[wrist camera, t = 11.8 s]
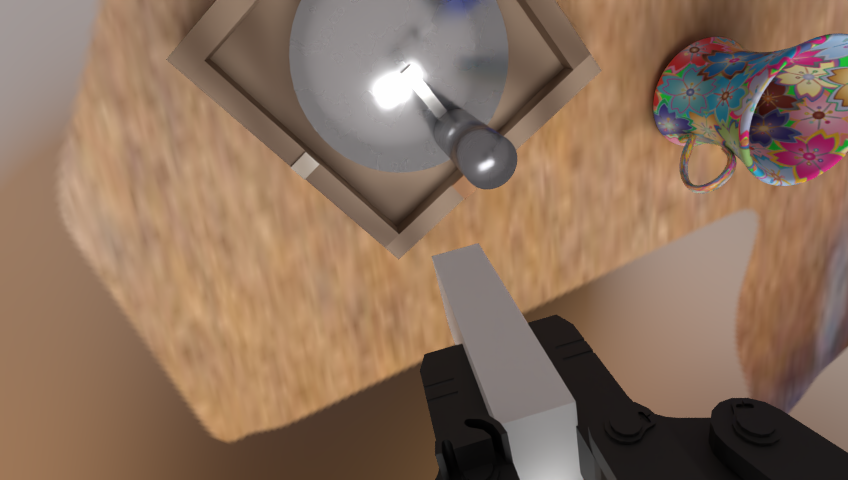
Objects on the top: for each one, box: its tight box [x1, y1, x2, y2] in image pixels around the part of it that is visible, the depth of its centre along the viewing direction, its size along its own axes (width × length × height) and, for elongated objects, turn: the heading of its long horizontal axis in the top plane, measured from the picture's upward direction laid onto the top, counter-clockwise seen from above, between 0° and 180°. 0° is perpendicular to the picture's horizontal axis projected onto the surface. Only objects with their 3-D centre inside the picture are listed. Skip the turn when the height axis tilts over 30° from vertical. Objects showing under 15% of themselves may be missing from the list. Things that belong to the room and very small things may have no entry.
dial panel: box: [166, 0, 602, 259], centre depth 31 cm, size 20×20×4 cm
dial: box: [289, 0, 517, 189], centre depth 27 cm, size 14×14×10 cm
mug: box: [653, 34, 848, 194], centre depth 34 cm, size 12×9×11 cm
